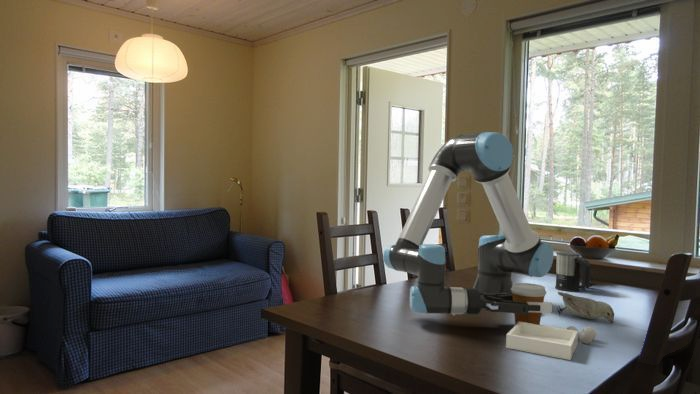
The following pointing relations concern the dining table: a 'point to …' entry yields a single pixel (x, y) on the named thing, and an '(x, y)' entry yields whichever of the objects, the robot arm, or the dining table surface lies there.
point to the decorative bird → (586, 307)
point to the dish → (542, 340)
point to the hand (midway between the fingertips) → (544, 303)
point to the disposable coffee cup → (528, 300)
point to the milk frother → (572, 272)
